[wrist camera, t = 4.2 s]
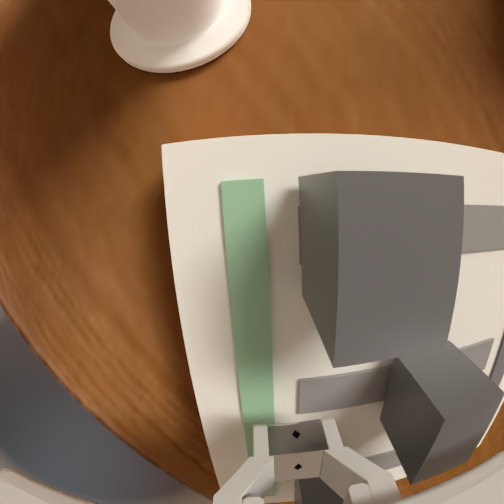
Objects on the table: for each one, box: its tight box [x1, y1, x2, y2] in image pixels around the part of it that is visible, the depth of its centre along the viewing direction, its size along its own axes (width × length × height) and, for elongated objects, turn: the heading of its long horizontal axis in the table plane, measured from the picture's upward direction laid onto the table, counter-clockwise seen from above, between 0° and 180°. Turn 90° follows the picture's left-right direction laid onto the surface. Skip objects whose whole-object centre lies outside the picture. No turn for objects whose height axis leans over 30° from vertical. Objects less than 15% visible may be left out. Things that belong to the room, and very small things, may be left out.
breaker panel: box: [162, 134, 504, 503], centre depth 13 cm, size 20×21×3 cm
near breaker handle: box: [298, 171, 464, 368], centre depth 7 cm, size 3×4×4 cm
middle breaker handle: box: [380, 341, 504, 485], centre depth 9 cm, size 3×4×4 cm
